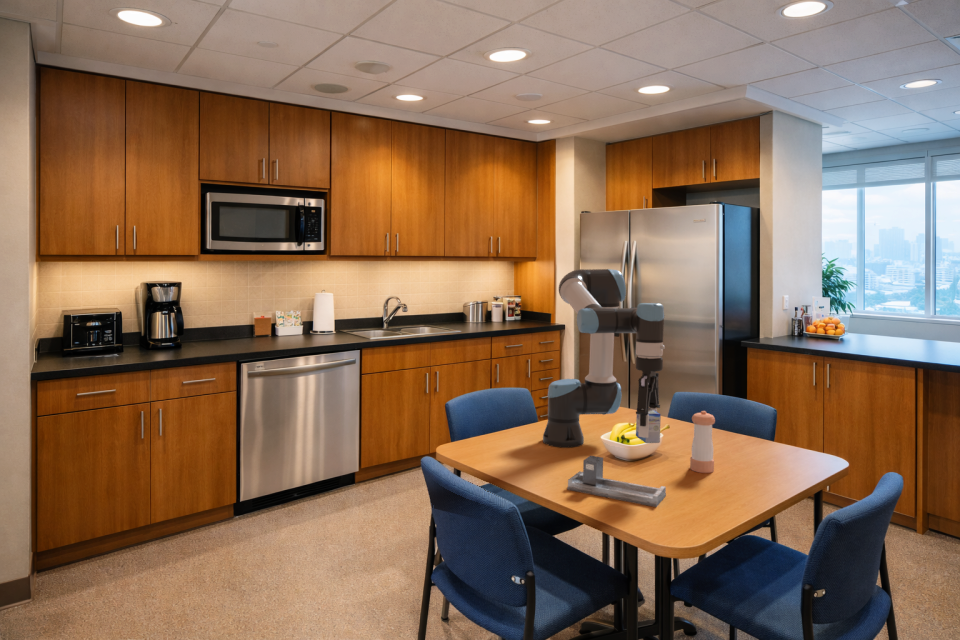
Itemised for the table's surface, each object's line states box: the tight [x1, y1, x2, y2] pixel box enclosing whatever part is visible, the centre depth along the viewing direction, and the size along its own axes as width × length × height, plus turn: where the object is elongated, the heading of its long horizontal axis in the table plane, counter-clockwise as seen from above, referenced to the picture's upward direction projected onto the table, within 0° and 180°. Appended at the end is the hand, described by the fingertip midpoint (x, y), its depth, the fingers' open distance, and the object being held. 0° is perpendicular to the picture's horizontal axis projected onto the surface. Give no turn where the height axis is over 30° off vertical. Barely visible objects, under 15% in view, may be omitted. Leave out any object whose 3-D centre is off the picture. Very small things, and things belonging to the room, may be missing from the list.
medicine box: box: [635, 407, 662, 444], centre depth 179 cm, size 8×4×9 cm, turn 6°
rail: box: [566, 455, 667, 508], centre depth 177 cm, size 26×10×9 cm, turn 59°
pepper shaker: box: [689, 410, 716, 474], centre depth 198 cm, size 7×7×19 cm
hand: (647, 433), depth 179 cm, fingers closed on medicine box, 9 cm apart
